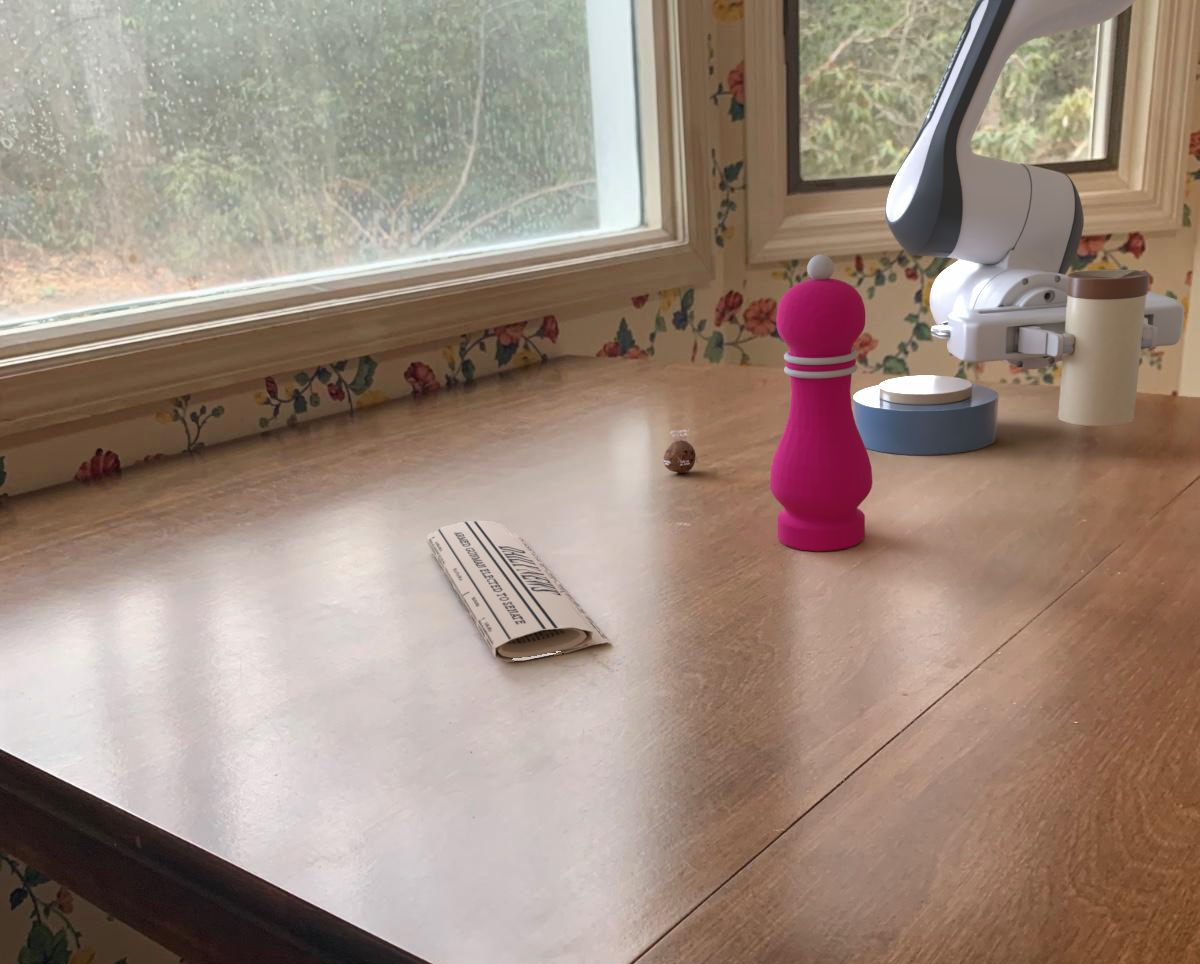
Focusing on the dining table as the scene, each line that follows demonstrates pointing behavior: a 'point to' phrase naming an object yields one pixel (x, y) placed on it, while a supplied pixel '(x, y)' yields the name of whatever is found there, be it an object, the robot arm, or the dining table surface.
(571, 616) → the newspaper
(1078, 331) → the canister
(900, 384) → the two-tier round pedestal
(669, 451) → the chocolate
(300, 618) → the dining table surface
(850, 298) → the pepper mill
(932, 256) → the robot arm
